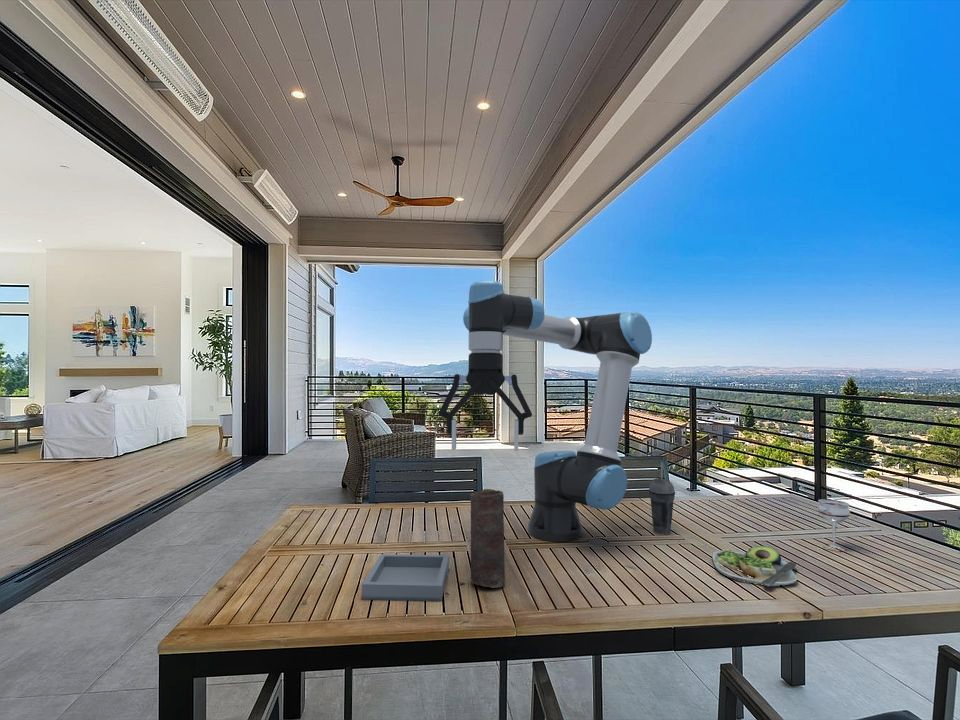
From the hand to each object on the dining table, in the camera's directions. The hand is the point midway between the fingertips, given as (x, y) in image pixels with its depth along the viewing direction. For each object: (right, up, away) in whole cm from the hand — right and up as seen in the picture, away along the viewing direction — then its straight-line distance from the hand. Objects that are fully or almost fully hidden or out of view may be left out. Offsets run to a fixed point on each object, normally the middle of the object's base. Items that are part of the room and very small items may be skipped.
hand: (485, 449), depth 104 cm
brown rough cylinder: (0, -29, -1) cm, 29 cm away
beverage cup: (+51, -30, +33) cm, 68 cm away
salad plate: (+63, -30, +7) cm, 70 cm away
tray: (-17, -29, -1) cm, 33 cm away
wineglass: (+92, -30, +21) cm, 99 cm away
